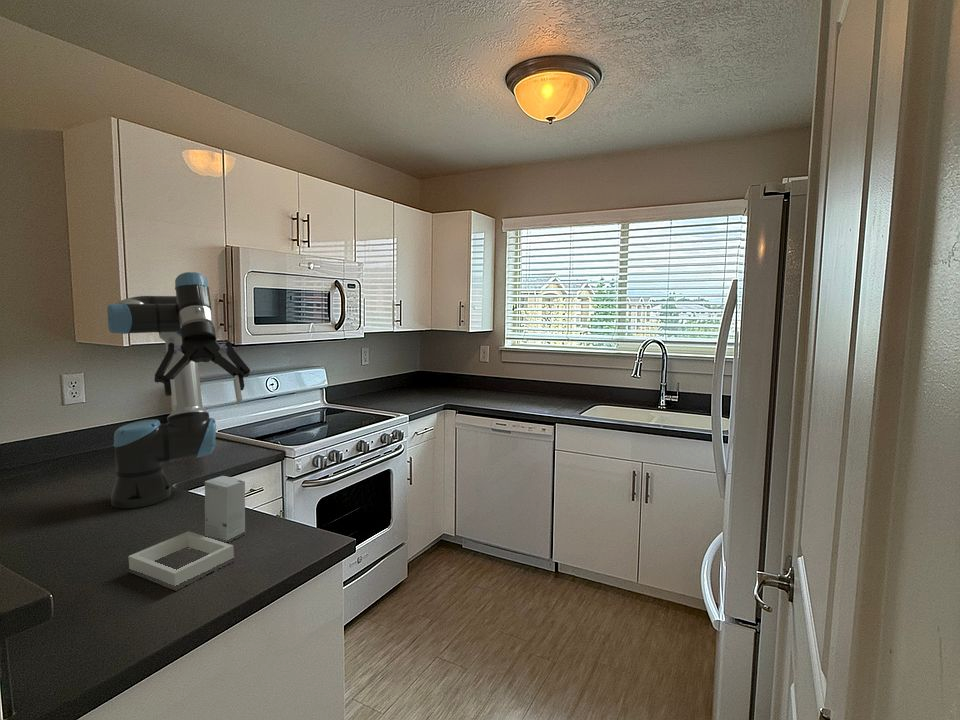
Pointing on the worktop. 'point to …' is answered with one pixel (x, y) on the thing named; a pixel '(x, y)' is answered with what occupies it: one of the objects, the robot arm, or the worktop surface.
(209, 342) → the robot arm
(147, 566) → the tray
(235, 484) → the skincare box
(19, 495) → the worktop surface
